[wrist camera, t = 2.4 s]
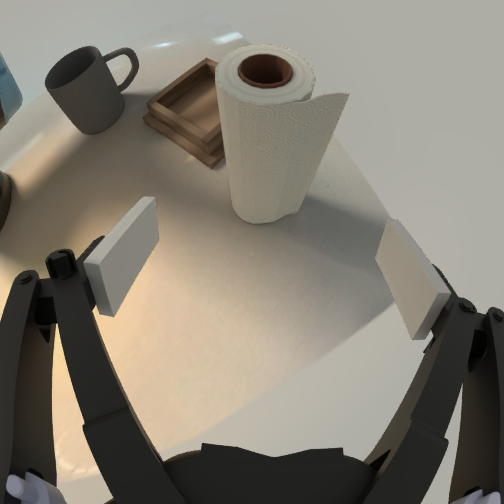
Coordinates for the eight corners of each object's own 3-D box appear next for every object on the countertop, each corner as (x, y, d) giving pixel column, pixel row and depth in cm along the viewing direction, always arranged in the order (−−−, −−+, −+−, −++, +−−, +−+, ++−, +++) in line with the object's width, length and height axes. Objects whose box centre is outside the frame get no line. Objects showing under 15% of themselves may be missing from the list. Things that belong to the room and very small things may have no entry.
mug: (81, 145, 37) (43, 101, 26) (74, 111, 39) (44, 68, 27) (156, 104, 39) (135, 48, 27) (142, 74, 41) (123, 24, 29)
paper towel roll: (222, 197, 35) (194, 64, 15) (261, 171, 36) (272, 32, 15) (257, 242, 34) (271, 134, 13) (297, 213, 35) (351, 91, 14)
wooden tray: (144, 121, 38) (136, 105, 34) (209, 69, 41) (206, 52, 37) (211, 168, 36) (207, 152, 32) (277, 107, 39) (279, 89, 35)
